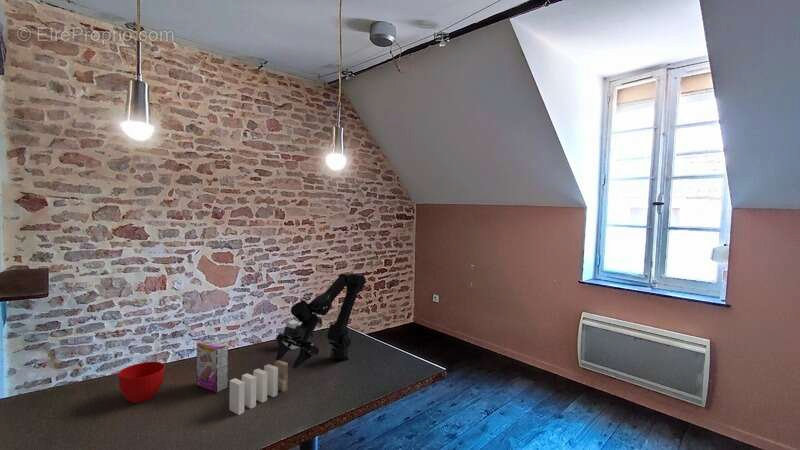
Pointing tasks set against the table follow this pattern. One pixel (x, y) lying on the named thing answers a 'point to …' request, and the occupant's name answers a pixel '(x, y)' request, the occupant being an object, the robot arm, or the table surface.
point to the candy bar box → (212, 365)
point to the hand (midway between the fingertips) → (284, 365)
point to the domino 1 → (237, 396)
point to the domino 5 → (282, 374)
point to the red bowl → (141, 381)
